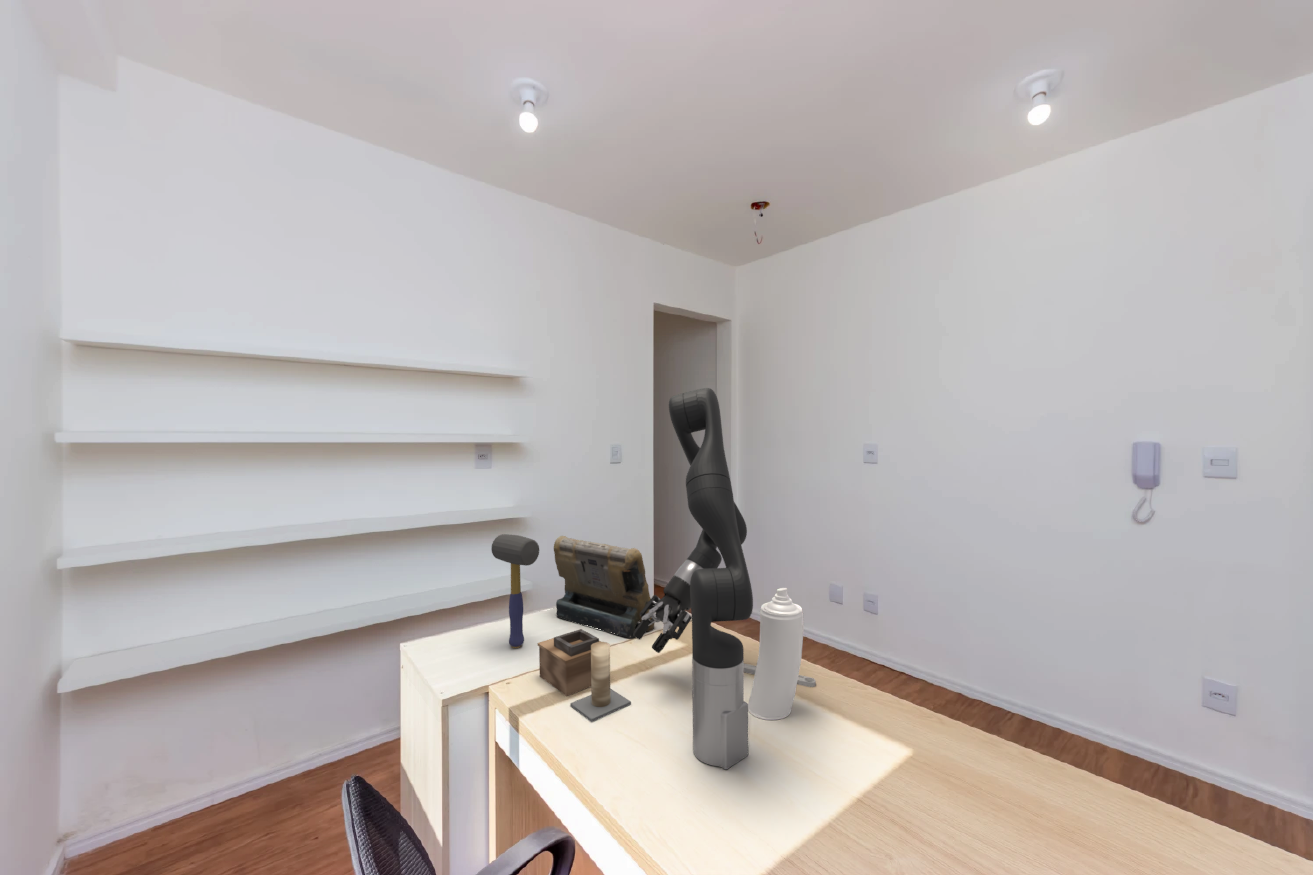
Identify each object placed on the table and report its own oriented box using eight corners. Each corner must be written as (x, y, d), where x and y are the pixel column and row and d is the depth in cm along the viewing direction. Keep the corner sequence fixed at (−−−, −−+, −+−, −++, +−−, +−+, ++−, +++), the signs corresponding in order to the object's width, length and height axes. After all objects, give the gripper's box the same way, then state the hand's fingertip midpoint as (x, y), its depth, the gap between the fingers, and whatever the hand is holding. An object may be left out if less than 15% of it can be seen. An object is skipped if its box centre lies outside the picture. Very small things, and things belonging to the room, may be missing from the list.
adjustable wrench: (817, 685, 120) (817, 677, 120) (809, 697, 115) (809, 689, 114) (717, 659, 133) (717, 652, 133) (706, 669, 128) (706, 662, 127)
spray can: (760, 688, 118) (760, 577, 117) (808, 700, 112) (808, 584, 112) (741, 712, 108) (740, 592, 107) (792, 727, 102) (792, 601, 102)
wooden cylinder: (614, 701, 111) (613, 644, 111) (600, 708, 108) (600, 651, 108) (601, 695, 114) (600, 640, 114) (587, 702, 111) (587, 646, 111)
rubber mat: (631, 704, 111) (631, 701, 111) (591, 722, 105) (591, 719, 105) (608, 689, 117) (608, 687, 117) (570, 705, 111) (570, 703, 111)
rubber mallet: (490, 645, 141) (488, 535, 140) (512, 636, 147) (511, 530, 146) (520, 657, 134) (519, 541, 133) (543, 647, 140) (541, 535, 139)
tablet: (661, 624, 155) (661, 540, 155) (636, 641, 143) (636, 550, 143) (575, 606, 172) (574, 530, 171) (546, 620, 160) (545, 538, 159)
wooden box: (609, 679, 122) (608, 637, 122) (566, 697, 114) (565, 651, 114) (579, 661, 131) (579, 622, 131) (537, 676, 124) (537, 634, 124)
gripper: (661, 568, 128) (620, 624, 122) (695, 582, 115) (650, 645, 110) (680, 586, 130) (640, 642, 125) (714, 602, 118) (672, 664, 113)
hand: (645, 643), depth 117 cm, fingers open, 8 cm apart
